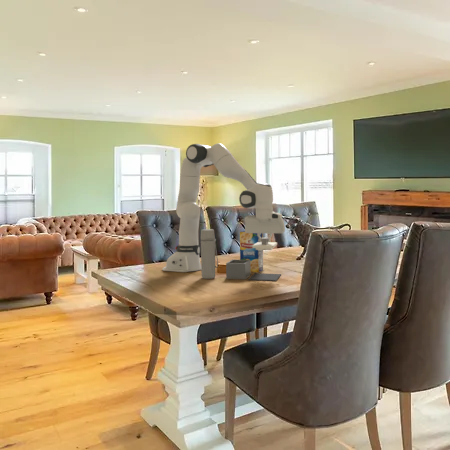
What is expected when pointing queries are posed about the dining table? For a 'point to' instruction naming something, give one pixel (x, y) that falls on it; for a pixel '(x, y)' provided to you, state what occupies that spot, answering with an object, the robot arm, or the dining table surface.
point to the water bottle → (208, 253)
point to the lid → (264, 244)
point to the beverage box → (251, 250)
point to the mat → (264, 277)
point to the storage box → (238, 269)
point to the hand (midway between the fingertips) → (265, 242)
